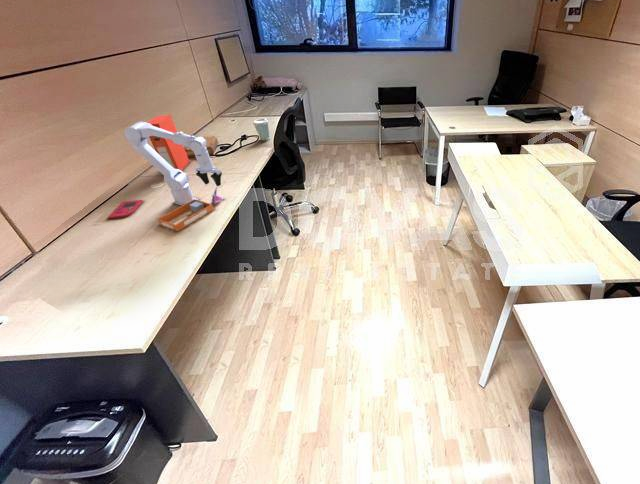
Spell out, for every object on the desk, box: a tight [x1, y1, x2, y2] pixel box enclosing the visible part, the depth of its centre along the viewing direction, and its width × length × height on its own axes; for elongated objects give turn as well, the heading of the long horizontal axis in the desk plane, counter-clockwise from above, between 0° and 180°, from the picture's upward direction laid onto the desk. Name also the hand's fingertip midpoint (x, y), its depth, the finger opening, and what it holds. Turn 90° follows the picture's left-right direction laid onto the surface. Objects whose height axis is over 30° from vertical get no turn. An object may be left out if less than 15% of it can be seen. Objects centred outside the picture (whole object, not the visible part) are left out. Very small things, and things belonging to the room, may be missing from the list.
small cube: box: [189, 201, 205, 213], centre depth 161 cm, size 5×4×4 cm
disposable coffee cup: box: [253, 118, 270, 141], centre depth 244 cm, size 11×11×15 cm
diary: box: [183, 135, 219, 158], centre depth 229 cm, size 23×19×6 cm
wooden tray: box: [157, 199, 215, 232], centre depth 157 cm, size 13×20×4 cm, turn 156°
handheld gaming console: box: [107, 199, 144, 220], centre depth 164 cm, size 10×1×15 cm
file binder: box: [146, 114, 190, 172], centre depth 197 cm, size 8×17×32 cm, turn 12°
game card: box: [211, 186, 224, 207], centre depth 169 cm, size 7×5×9 cm
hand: (213, 184), depth 167 cm, fingers open, 7 cm apart
